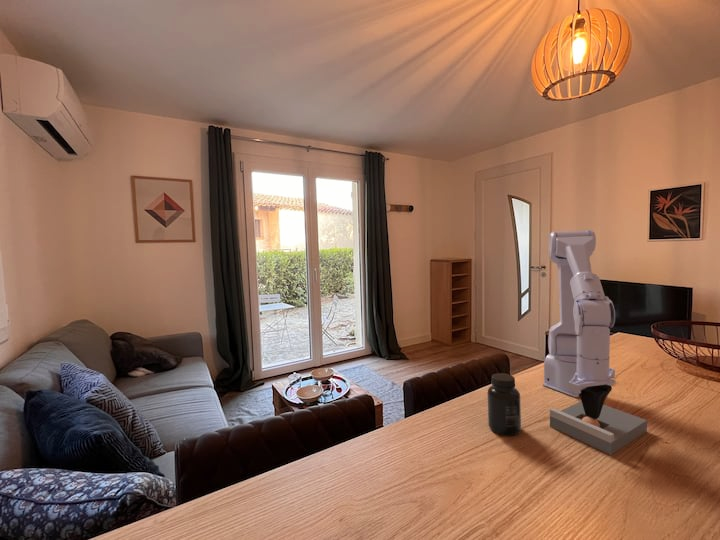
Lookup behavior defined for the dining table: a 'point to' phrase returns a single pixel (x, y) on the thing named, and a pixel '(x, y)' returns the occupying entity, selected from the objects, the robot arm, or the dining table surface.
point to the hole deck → (607, 438)
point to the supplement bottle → (504, 405)
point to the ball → (591, 421)
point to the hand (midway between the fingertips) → (592, 416)
